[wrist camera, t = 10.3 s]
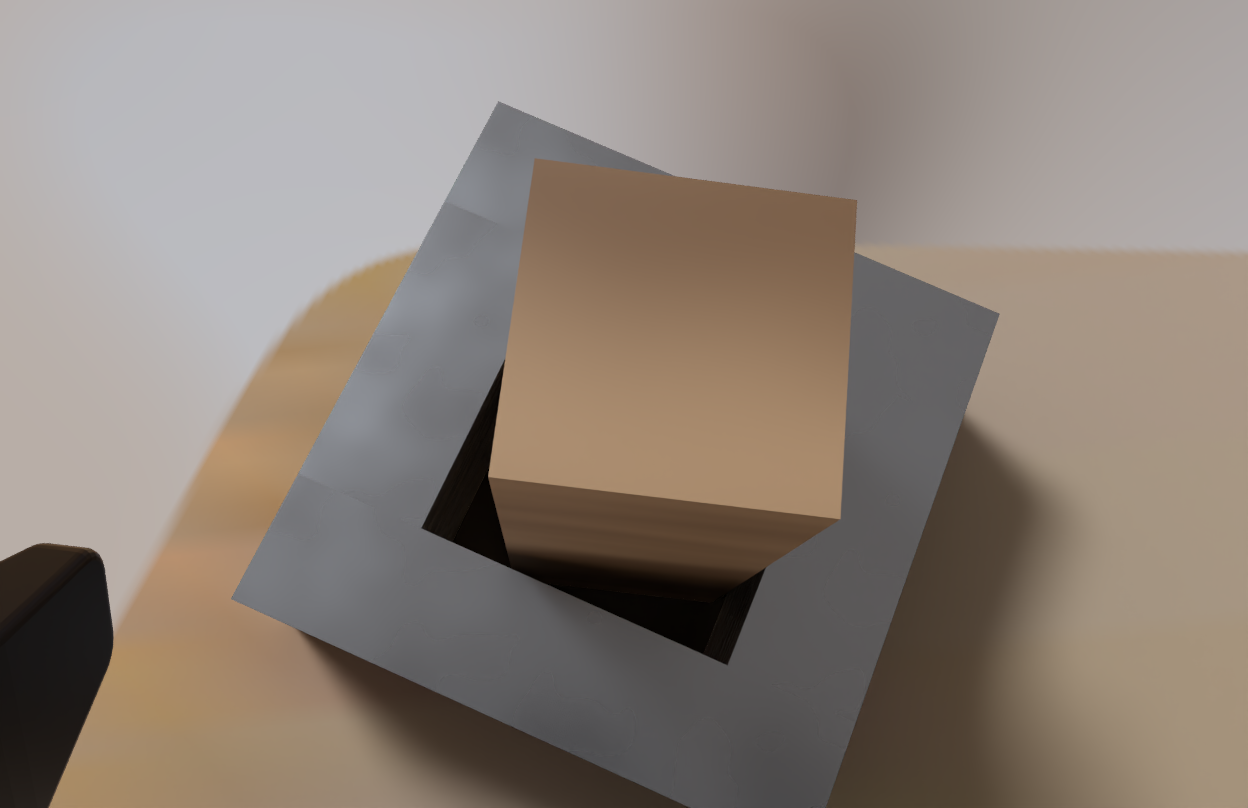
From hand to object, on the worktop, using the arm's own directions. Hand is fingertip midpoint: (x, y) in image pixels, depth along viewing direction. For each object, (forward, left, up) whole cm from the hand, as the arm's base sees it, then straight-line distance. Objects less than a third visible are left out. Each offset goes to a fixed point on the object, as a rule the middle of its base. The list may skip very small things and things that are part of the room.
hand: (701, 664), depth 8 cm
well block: (+4, +1, -14) cm, 14 cm away
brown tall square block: (+4, +1, -14) cm, 14 cm away
